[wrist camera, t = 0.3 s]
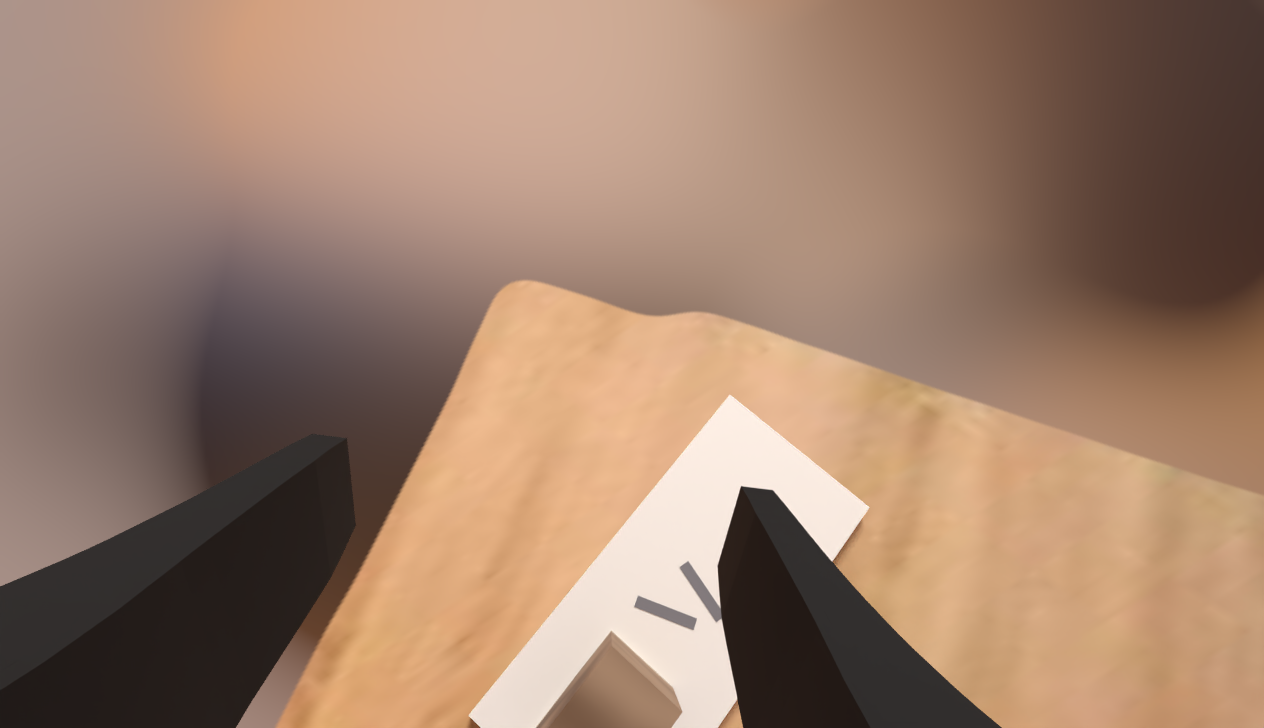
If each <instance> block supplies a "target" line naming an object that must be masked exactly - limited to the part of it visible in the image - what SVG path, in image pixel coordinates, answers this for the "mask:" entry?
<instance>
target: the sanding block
mask: <svg viewBox="0 0 1264 728" xmlns="http://www.w3.org/2000/svg"><path fill="white" fill-rule="evenodd" d="M681 713H682V709H681V707H680V704H679V702H678V699H677V696H676V694H675V691H674V689H673V687H672V686H671V685H670V684H669V683H668V682H667V681H666V680H665V679H664V678H662V677H661V676H660V675H659V674H658V673H657V672H656V671H655V670H654V669H653V668H652V667H651V666H650V665H648V664H647V663H646V662H645V661H644V660H643V659H642V658H641V657H640V656H639V655H638V654H637V653H635V652H634V651H633V650H632V649H631V648H630V647H629V646H628V645H627V644H626V643H625V642H624V641H623V640H621V639H620V638H619V637H618V636H617V635H616V634H615V633H614V632H613V631H612V630H611V631H610V632H609V634H608V635H607V636H606V638H605V639H604V640H603V641H602V643H601V644H600V645H599V647H598V648H597V649H596V650H595V652H594V653H593V654H592V656H591V657H590V658H589V659H588V661H587V662H586V663H585V665H584V666H583V667H582V668H581V670H580V671H579V672H578V674H577V675H576V676H575V677H574V679H573V680H572V681H571V683H570V684H569V685H568V686H567V688H566V689H565V690H564V692H563V693H562V694H561V695H560V697H559V698H558V699H557V701H556V702H555V703H554V704H553V706H552V707H551V708H550V710H549V711H548V712H547V713H546V715H545V716H544V717H543V719H542V720H541V721H540V722H539V724H538V725H537V726H536V728H672V726H673V725H674V723H675V722H676V720H677V719H678V718H679V716H680V715H681Z"/></svg>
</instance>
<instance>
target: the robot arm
mask: <svg viewBox="0 0 1264 728" xmlns="http://www.w3.org/2000/svg"><path fill="white" fill-rule="evenodd" d="M355 525H356V524H355V515H354V504H353V494H352V484H351V475H350V464H349V455H348V445H347V438H340V437H332V436H324V435H316V434H311V435H309V436H307V437H305V438H303V439H301V440H299V441H297V442H295V443H293V444H291V445H289V446H287V447H285V448H284V449H281V450H280V451H278V452H276V453H274V454H272V455H270V456H269V457H267V458H265V459H263V460H261V461H259V462H257V463H256V464H254V465H252V466H250V467H248V468H247V469H245V470H243V471H241V472H239V473H237V474H235V475H234V476H232V477H230V478H228V479H226V480H224V481H222V482H220V483H219V484H217V485H215V486H213V487H211V488H209V489H207V490H206V491H204V492H202V493H200V494H198V495H197V496H194V497H193V498H191V499H189V500H187V501H185V502H183V503H181V504H179V505H177V506H175V507H173V508H171V509H169V510H167V511H165V512H163V513H161V514H159V515H157V516H155V517H153V518H151V519H149V520H147V521H145V522H142V523H140V524H139V525H136V526H134V527H133V528H130V529H128V530H126V531H124V532H122V533H120V534H118V535H116V536H114V537H112V538H110V539H108V540H106V541H104V542H102V543H100V544H97V545H95V546H93V547H91V548H89V549H87V550H84V551H82V552H80V553H78V554H75V555H73V556H71V557H69V558H67V559H64V560H62V561H60V562H57V563H55V564H53V565H50V566H48V567H45V568H43V569H41V570H38V571H36V572H34V573H31V574H29V575H27V576H24V577H22V578H20V579H17V580H15V581H12V582H10V583H8V584H5V585H3V586H0V728H236V726H237V725H238V723H239V721H240V720H241V718H242V716H243V714H244V713H245V711H246V709H247V708H248V706H249V705H250V703H251V701H252V700H253V698H254V697H255V695H256V693H257V692H258V691H259V689H260V687H261V686H262V684H263V683H264V681H265V680H266V678H267V676H268V675H269V674H270V672H271V670H272V669H273V667H274V666H275V664H276V663H277V661H278V660H279V658H280V656H281V655H282V653H283V652H284V650H285V649H286V647H287V646H288V644H289V643H290V641H291V639H292V638H293V636H294V635H295V633H296V632H297V630H298V629H299V627H300V626H301V624H302V622H303V621H304V619H305V618H306V616H307V615H308V613H309V611H310V610H311V608H312V607H313V605H314V604H315V602H316V600H317V599H318V597H319V596H320V594H321V593H322V591H323V589H324V588H325V586H326V585H327V583H328V581H329V580H330V578H331V576H332V574H333V572H334V570H335V568H336V566H337V564H338V562H339V560H340V558H341V556H342V554H343V552H344V550H345V548H346V545H347V543H348V541H349V539H350V537H351V534H352V532H353V530H354V528H355ZM717 567H718V582H719V596H720V607H721V618H722V624H723V629H724V634H725V639H726V645H727V650H728V655H729V660H730V665H731V670H732V675H733V679H734V684H735V689H736V694H737V699H738V704H739V709H740V714H741V719H742V724H743V728H1001V727H1000V726H999V725H998V724H997V723H995V722H994V721H993V720H992V719H991V718H989V717H988V716H987V715H986V714H985V713H983V712H982V711H981V710H980V709H979V708H977V707H976V706H975V705H974V704H973V703H972V702H971V701H969V700H968V699H967V698H966V697H965V696H964V695H963V694H961V693H960V692H959V691H958V690H957V689H956V688H955V687H954V686H952V685H951V684H950V683H949V682H948V681H947V680H946V679H945V678H944V677H943V676H942V675H941V674H940V673H939V672H937V671H936V670H935V669H934V668H933V667H932V666H931V665H930V664H929V663H928V662H927V661H926V660H925V659H924V658H922V657H921V656H920V655H919V654H918V653H917V652H916V651H915V650H914V649H913V648H912V647H911V646H910V645H909V644H908V643H907V642H906V641H905V640H904V639H903V638H902V637H901V636H900V635H899V634H898V633H897V632H896V631H895V630H894V629H893V628H892V627H891V626H890V625H889V624H888V623H887V622H886V621H885V620H884V619H883V618H882V616H881V615H880V614H879V613H878V612H877V611H876V610H875V609H874V608H873V607H872V606H871V605H870V604H869V603H868V602H867V601H866V600H865V599H864V597H863V596H862V595H861V594H860V593H859V592H858V591H857V590H856V589H855V587H854V586H853V585H852V584H851V583H850V582H849V581H848V580H847V578H846V577H845V576H844V575H843V574H842V573H841V572H840V570H839V569H838V568H837V567H836V566H835V565H834V563H833V562H832V561H831V560H830V559H829V558H828V556H827V555H826V554H825V553H824V552H823V550H822V549H821V548H820V547H819V546H818V544H817V543H816V542H815V541H814V539H813V538H812V537H811V536H810V535H809V533H808V532H807V531H806V530H805V528H804V527H803V526H802V525H801V524H800V522H799V521H798V520H797V519H796V517H795V516H794V515H793V514H792V512H791V511H790V510H789V509H788V507H787V506H786V505H785V504H784V503H783V501H782V500H781V499H780V498H779V497H778V495H777V494H776V493H775V492H774V491H773V490H769V489H760V488H752V487H744V486H741V488H740V491H739V495H738V498H737V501H736V505H735V508H734V512H733V515H732V518H731V522H730V525H729V528H728V532H727V535H726V539H725V542H724V545H723V549H722V552H721V556H720V559H719V562H718V566H717Z"/></svg>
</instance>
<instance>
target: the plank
mask: <svg viewBox="0 0 1264 728" xmlns="http://www.w3.org/2000/svg"><path fill="white" fill-rule="evenodd" d="M741 486H744V487H752V488H760V489H769V490H773V491H774V492H775V493H776V494H777V495H778V497H779V498H780V499H781V500H782V501H783V503H784V504H785V505H786V506H787V507H788V509H789V510H790V511H791V512H792V514H793V515H794V516H795V517H796V519H797V520H798V521H799V522H800V524H801V525H802V526H803V527H804V528H805V530H806V531H807V532H808V533H809V535H810V536H811V537H812V538H813V539H814V541H815V542H816V543H817V544H818V546H819V547H820V548H821V549H822V550H823V552H824V553H825V554H826V555H827V556H828V558H829V559H830V560H831V561H833V560H834V558H835V557H836V555H837V554H838V552H839V551H840V550H841V548H842V547H843V545H844V544H845V542H846V541H847V539H848V538H849V537H850V535H851V534H852V532H853V531H854V529H855V528H856V526H857V525H858V523H859V522H860V521H861V519H862V518H863V516H864V515H865V513H866V512H867V510H868V509H869V507H868V506H867V505H866V504H865V503H863V502H862V501H861V500H860V499H859V498H857V497H856V496H855V495H854V494H852V493H851V492H850V491H849V490H847V489H846V488H845V487H844V486H842V485H841V484H840V483H839V482H838V481H836V480H835V479H834V478H833V477H831V476H830V475H829V474H828V473H826V472H825V471H824V470H823V469H821V468H820V467H819V466H818V465H816V464H815V463H814V462H813V461H812V460H810V459H809V458H808V457H807V456H805V455H804V454H803V453H802V452H800V451H799V450H798V449H797V448H795V447H794V446H793V445H792V444H791V443H789V442H788V441H787V440H786V439H784V438H783V437H782V436H781V435H779V434H778V433H777V432H776V431H774V430H773V429H772V428H771V427H769V426H768V425H767V424H766V423H765V422H763V421H762V420H761V419H760V418H758V417H757V416H756V415H755V414H753V413H752V412H751V411H750V410H748V409H747V408H746V407H745V406H744V405H742V404H741V403H740V402H739V401H737V400H736V399H735V398H734V397H732V396H731V395H729V396H728V397H727V398H726V400H725V401H724V402H723V403H722V405H721V406H720V407H719V408H718V409H717V411H716V412H715V413H714V414H713V416H712V417H711V418H710V419H709V420H708V422H707V423H706V424H705V425H704V427H703V428H702V429H701V430H700V432H699V433H698V434H697V435H696V436H695V438H694V439H693V440H692V441H691V443H690V444H689V445H688V446H687V447H686V449H685V450H684V451H683V452H682V454H681V455H680V456H679V457H678V458H677V460H676V461H675V462H674V463H673V465H672V466H671V467H670V468H669V470H668V471H667V472H666V473H665V474H664V476H663V477H662V478H661V479H660V481H659V482H658V483H657V484H656V485H655V487H654V488H653V489H652V490H651V492H650V493H649V494H648V495H647V496H646V498H645V499H644V500H643V501H642V503H641V504H640V505H639V506H638V508H637V509H636V510H635V511H634V512H633V514H632V515H631V516H630V517H629V519H628V520H627V521H626V522H625V523H624V525H623V526H622V527H621V528H620V530H619V531H618V532H617V533H616V534H615V536H614V537H613V538H612V539H611V541H610V542H609V543H608V544H607V546H606V547H605V548H604V549H603V550H602V552H601V553H600V554H599V555H598V557H597V558H596V559H595V560H594V561H593V563H592V564H591V565H590V566H589V568H588V569H587V570H586V571H585V572H584V574H583V575H582V576H581V577H580V579H579V580H578V581H577V582H576V584H575V585H574V586H573V587H572V588H571V590H570V591H569V592H568V593H567V595H566V596H565V597H564V598H563V599H562V601H561V602H560V603H559V604H558V606H557V607H556V608H555V609H554V610H553V612H552V613H551V614H550V615H549V617H548V618H547V619H546V620H545V621H544V623H543V624H542V625H541V626H540V628H539V629H538V630H537V631H536V633H535V634H534V635H533V636H532V637H531V639H530V640H529V641H528V642H527V644H526V645H525V646H524V647H523V648H522V650H521V651H520V652H519V653H518V655H517V656H516V657H515V658H514V659H513V661H512V662H511V663H510V664H509V666H508V667H507V668H506V669H505V671H504V672H503V673H502V674H501V675H500V677H499V678H498V679H497V680H496V682H495V683H494V684H493V685H492V686H491V688H490V689H489V690H488V691H487V693H486V694H485V695H484V696H483V697H482V699H481V700H480V701H479V702H478V704H477V705H476V706H475V707H474V709H473V710H472V711H471V713H470V714H469V715H468V716H469V717H470V718H471V719H472V720H473V721H474V722H475V723H476V724H477V725H478V726H479V727H480V728H536V726H537V725H538V724H539V722H540V721H541V720H542V719H543V717H544V716H545V715H546V713H547V712H548V711H549V710H550V708H551V707H552V706H553V704H554V703H555V702H556V701H557V699H558V698H559V697H560V695H561V694H562V693H563V692H564V690H565V689H566V688H567V686H568V685H569V684H570V683H571V681H572V680H573V679H574V677H575V676H576V675H577V674H578V672H579V671H580V670H581V668H582V667H583V666H584V665H585V663H586V662H587V661H588V659H589V658H590V657H591V656H592V654H593V653H594V652H595V650H596V649H597V648H598V647H599V645H600V644H601V643H602V641H603V640H604V639H605V638H606V636H607V635H608V634H609V632H610V631H611V630H612V631H613V632H614V633H615V634H616V635H617V636H618V637H619V638H620V639H621V640H623V641H624V642H625V643H626V644H627V645H628V646H629V647H630V648H631V649H632V650H633V651H634V652H635V653H637V654H638V655H639V656H640V657H641V658H642V659H643V660H644V661H645V662H646V663H647V664H648V665H650V666H651V667H652V668H653V669H654V670H655V671H656V672H657V673H658V674H659V675H660V676H661V677H662V678H664V679H665V680H666V681H667V682H668V683H669V684H670V685H671V686H672V687H673V689H674V691H675V694H676V696H677V699H678V702H679V704H680V707H681V709H682V713H681V715H680V716H679V718H678V719H677V720H676V722H675V723H674V725H673V726H672V728H718V727H719V725H720V724H721V722H722V721H723V719H724V718H725V716H726V715H727V713H728V712H729V711H730V709H731V708H732V706H733V705H734V703H735V702H736V700H737V694H736V689H735V684H734V679H733V675H732V670H731V665H730V660H729V655H728V650H727V645H726V639H725V634H724V629H723V624H722V618H721V607H720V596H719V582H718V567H717V566H718V562H719V559H720V556H721V552H722V549H723V545H724V542H725V539H726V535H727V532H728V528H729V525H730V522H731V518H732V515H733V512H734V508H735V505H736V501H737V498H738V495H739V491H740V488H741Z"/></svg>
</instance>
